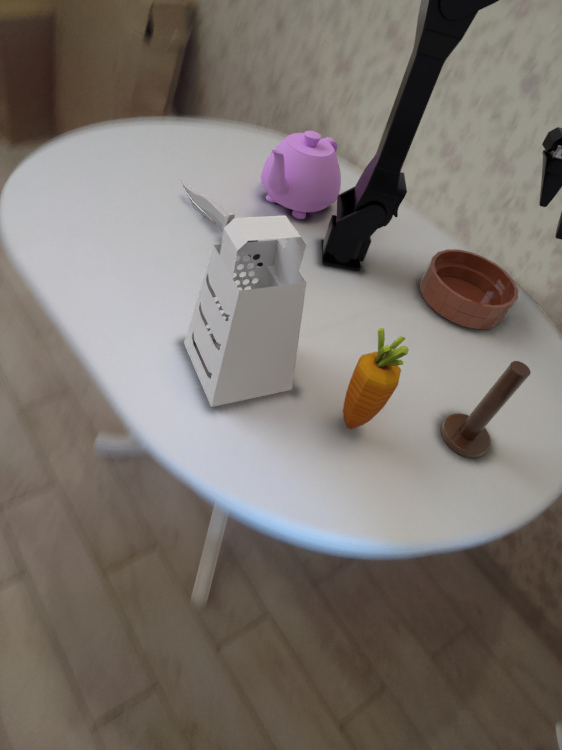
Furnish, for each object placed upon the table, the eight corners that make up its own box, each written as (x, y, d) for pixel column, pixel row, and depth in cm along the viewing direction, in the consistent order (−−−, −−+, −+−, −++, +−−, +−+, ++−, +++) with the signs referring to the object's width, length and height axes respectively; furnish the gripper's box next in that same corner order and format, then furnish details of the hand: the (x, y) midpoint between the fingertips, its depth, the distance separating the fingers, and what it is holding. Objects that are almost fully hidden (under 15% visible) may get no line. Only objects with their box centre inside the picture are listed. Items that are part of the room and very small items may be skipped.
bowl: (426, 323, 78) (440, 298, 74) (412, 267, 87) (424, 242, 84) (511, 338, 80) (529, 314, 76) (488, 281, 89) (503, 258, 86)
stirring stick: (446, 454, 62) (502, 385, 52) (436, 414, 66) (487, 344, 56) (492, 461, 62) (556, 394, 53) (480, 421, 66) (537, 352, 57)
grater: (183, 343, 65) (198, 199, 50) (259, 331, 69) (293, 196, 54) (211, 407, 59) (236, 266, 44) (291, 389, 63) (338, 256, 49)
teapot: (290, 241, 85) (308, 169, 76) (227, 200, 89) (237, 128, 80) (353, 205, 97) (375, 140, 88) (295, 171, 101) (311, 106, 92)
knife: (175, 193, 87) (177, 165, 83) (184, 192, 88) (187, 164, 84) (259, 281, 76) (265, 253, 72) (268, 278, 77) (275, 251, 73)
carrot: (326, 409, 62) (367, 318, 51) (364, 411, 63) (412, 323, 52) (332, 443, 59) (377, 354, 48) (372, 445, 60) (425, 359, 49)
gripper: (710, 158, 59) (623, 268, 71) (647, 100, 72) (582, 201, 84) (619, 139, 59) (546, 253, 70) (572, 83, 72) (516, 187, 83)
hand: (550, 221), depth 77 cm, fingers open, 9 cm apart
